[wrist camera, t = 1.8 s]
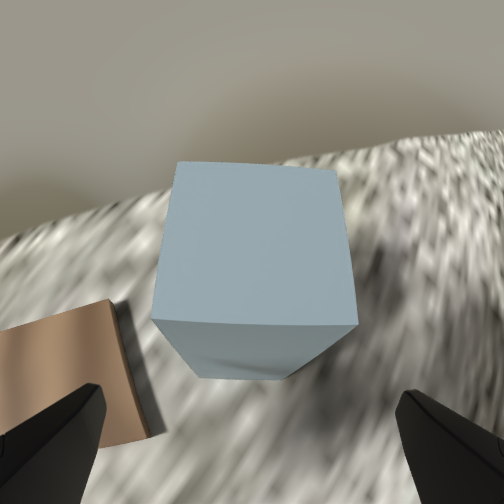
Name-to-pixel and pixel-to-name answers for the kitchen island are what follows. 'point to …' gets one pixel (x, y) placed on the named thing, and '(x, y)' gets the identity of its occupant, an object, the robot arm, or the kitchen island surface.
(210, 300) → the slate-blue post
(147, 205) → the kitchen island surface
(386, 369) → the kitchen island surface
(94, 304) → the tan flat board
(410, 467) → the robot arm
